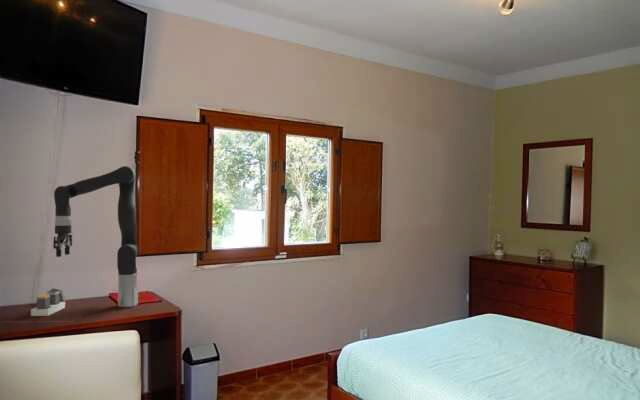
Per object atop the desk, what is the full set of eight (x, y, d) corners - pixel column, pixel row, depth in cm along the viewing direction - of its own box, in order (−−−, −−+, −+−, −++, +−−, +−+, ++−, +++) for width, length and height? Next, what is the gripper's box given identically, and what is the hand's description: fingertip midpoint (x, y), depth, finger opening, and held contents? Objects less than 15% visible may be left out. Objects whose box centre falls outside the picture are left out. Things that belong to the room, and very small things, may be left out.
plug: (49, 312, 223) (49, 294, 223) (45, 315, 219) (45, 296, 219) (41, 312, 222) (41, 294, 222) (36, 315, 218) (36, 296, 218)
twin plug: (59, 308, 232) (59, 290, 232) (55, 310, 228) (55, 292, 228) (51, 308, 232) (51, 291, 232) (46, 310, 228) (47, 292, 227)
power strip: (64, 309, 233) (64, 301, 233) (47, 317, 217) (47, 309, 217) (48, 309, 233) (49, 301, 233) (30, 317, 217) (30, 309, 217)
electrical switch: (66, 305, 243) (65, 288, 242) (56, 308, 238) (55, 291, 238) (57, 303, 248) (56, 286, 247) (47, 305, 244) (46, 289, 243)
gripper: (63, 225, 226) (63, 257, 226) (77, 223, 240) (77, 253, 240) (48, 225, 226) (48, 257, 226) (62, 223, 240) (62, 253, 240)
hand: (63, 255), depth 233 cm, fingers open, 8 cm apart
